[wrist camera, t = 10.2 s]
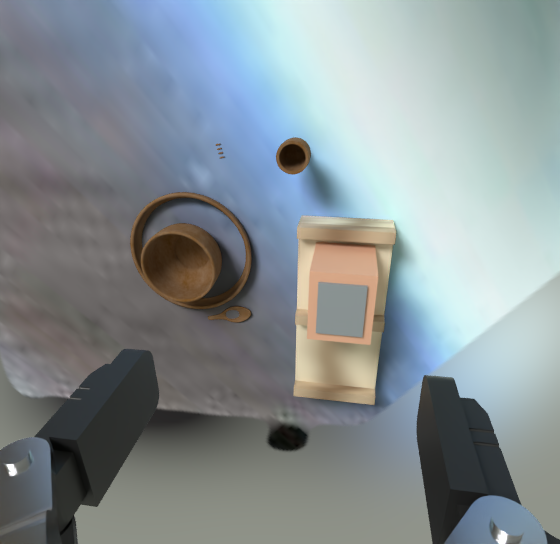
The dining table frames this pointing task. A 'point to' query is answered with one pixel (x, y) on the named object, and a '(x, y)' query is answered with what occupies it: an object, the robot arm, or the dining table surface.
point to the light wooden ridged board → (328, 354)
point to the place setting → (199, 248)
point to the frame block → (342, 293)
